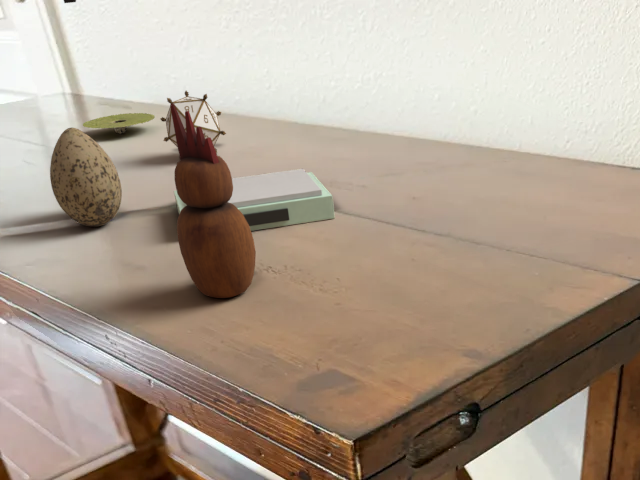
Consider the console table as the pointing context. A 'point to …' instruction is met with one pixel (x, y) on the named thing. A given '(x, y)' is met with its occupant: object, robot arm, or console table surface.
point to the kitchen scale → (279, 199)
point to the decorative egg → (84, 179)
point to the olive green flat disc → (119, 121)
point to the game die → (194, 117)
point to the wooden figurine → (210, 217)
